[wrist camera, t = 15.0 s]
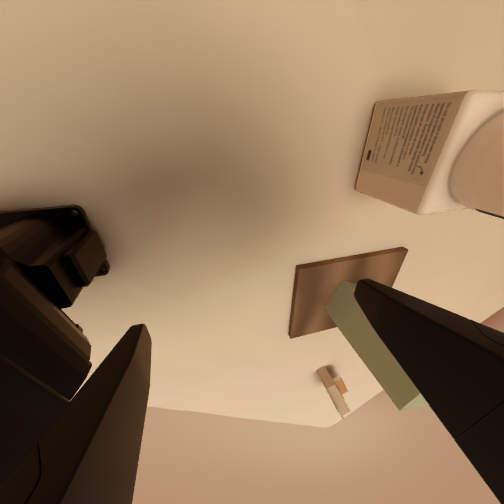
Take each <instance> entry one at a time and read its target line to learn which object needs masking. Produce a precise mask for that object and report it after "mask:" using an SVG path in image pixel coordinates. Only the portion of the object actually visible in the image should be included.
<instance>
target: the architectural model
mask: <svg viewBox="0 0 504 504" xmlns="http://www.w3.org/2000/svg"><path fill="white" fill-rule="evenodd" d="M317 373H318V375H319V377H320V378H321V380H322V382H323V384H324V386H325V388H326V390H327V392H328V394H329V396H330V398H331V399H332V401H333V403H334V405H335V407H336V409H337V411H338V412H339V414H340V415H341V417H342V418H343V419H344V417H343V416H342V415H344V414H346V413H348V412H350V410H349V408H348V406H347V404H346V403H345V401H344V398H343V396H342V394H344V393H346V392H347V388H346V386H345V384H344V382H343V380H342V378H341V377H340V378H338V379H336V380H334V381H333V380H332V378H331V376H330V374H329V373H328V371H327V369H326V367H325V366H323V367H321V368H319V369H317Z"/></svg>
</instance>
